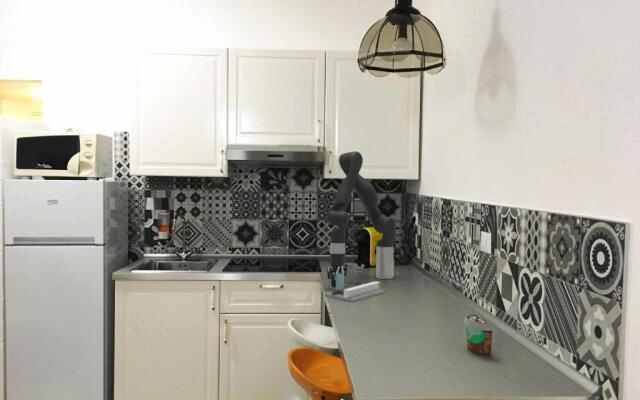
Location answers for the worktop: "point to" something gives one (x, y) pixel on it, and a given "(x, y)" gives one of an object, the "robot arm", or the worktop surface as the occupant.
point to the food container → (478, 334)
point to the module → (338, 281)
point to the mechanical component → (354, 270)
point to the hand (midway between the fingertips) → (337, 286)
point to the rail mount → (356, 292)
